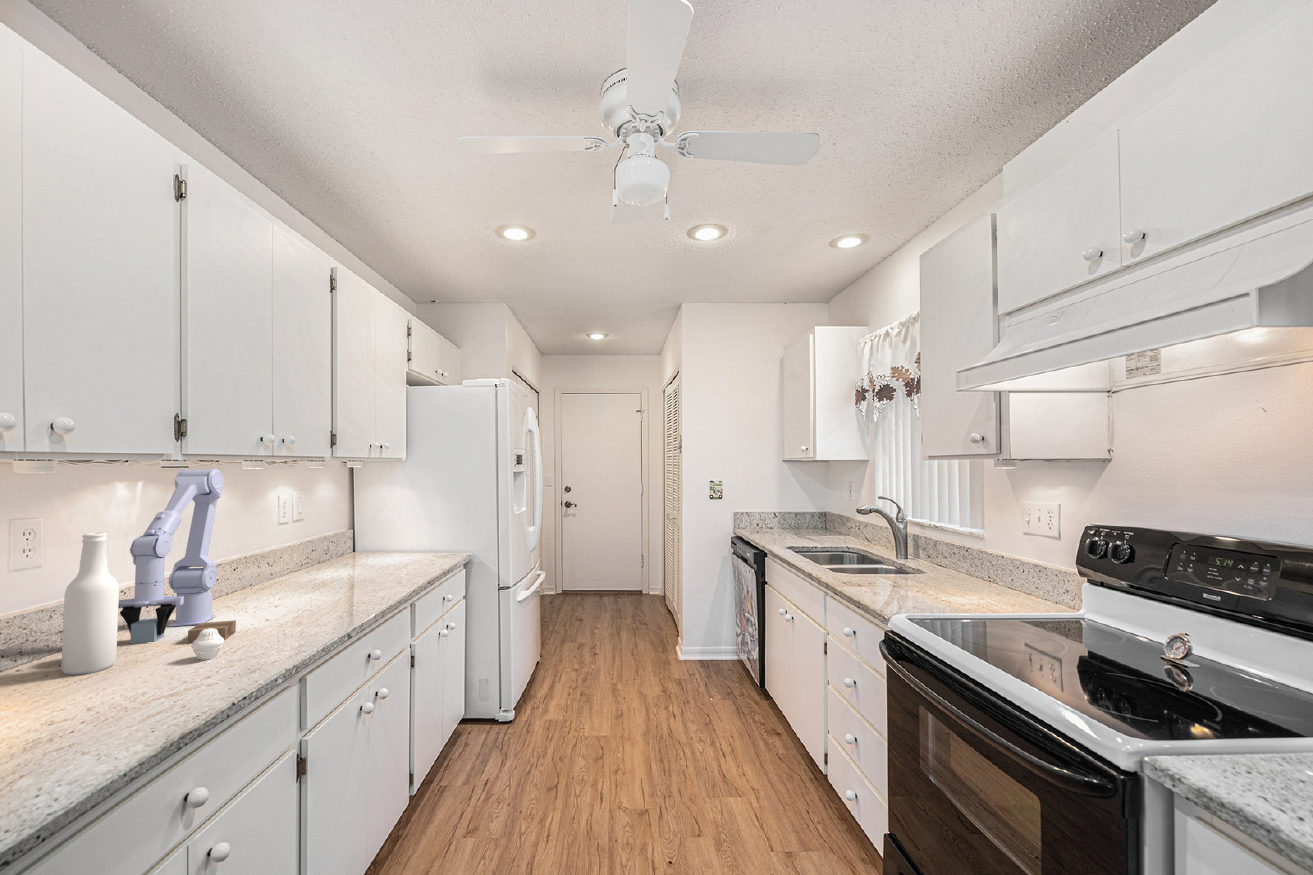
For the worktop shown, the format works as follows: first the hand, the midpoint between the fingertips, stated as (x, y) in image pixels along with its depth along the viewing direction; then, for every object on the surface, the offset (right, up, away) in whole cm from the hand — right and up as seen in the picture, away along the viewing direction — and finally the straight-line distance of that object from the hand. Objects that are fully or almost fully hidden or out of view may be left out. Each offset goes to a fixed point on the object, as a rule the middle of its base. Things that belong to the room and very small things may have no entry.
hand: (147, 634), depth 152 cm
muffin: (+26, -1, -14) cm, 30 cm away
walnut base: (+15, -2, +2) cm, 15 cm away
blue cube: (0, -1, 0) cm, 1 cm away
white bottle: (+5, -1, -21) cm, 22 cm away
